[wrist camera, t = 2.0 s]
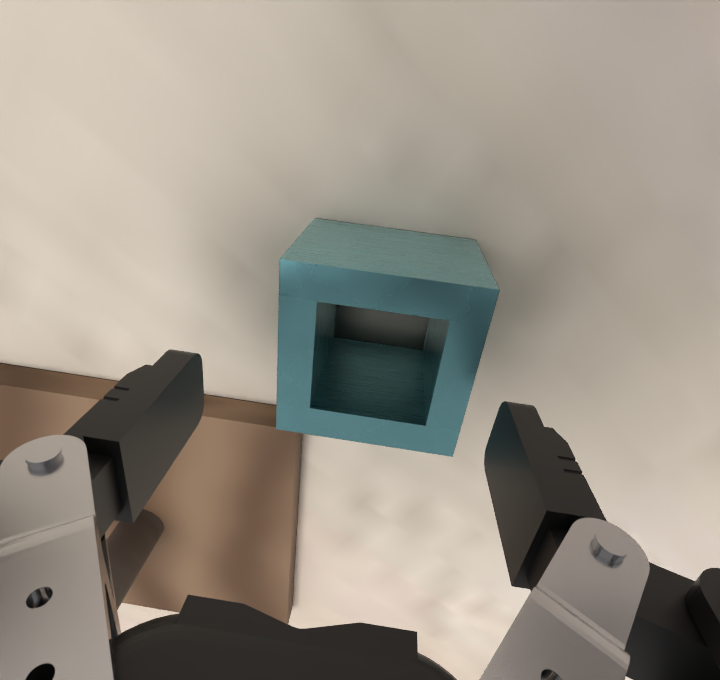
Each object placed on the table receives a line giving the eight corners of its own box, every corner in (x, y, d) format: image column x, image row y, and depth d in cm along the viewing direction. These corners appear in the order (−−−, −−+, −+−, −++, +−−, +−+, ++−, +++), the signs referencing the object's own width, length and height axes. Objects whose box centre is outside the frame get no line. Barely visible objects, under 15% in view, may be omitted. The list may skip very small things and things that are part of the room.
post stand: (303, 409, 21) (217, 654, 11) (292, 606, 28) (234, 848, 19) (-20, 360, 21) (-350, 554, 12) (54, 565, 29) (-113, 780, 20)
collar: (475, 240, 16) (499, 289, 12) (443, 375, 19) (452, 456, 15) (315, 217, 16) (279, 259, 12) (307, 355, 19) (276, 429, 15)
